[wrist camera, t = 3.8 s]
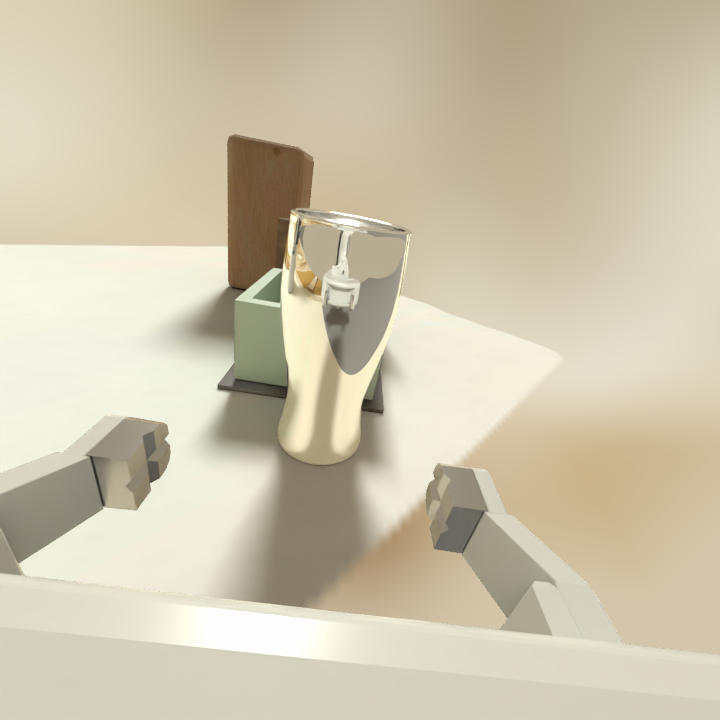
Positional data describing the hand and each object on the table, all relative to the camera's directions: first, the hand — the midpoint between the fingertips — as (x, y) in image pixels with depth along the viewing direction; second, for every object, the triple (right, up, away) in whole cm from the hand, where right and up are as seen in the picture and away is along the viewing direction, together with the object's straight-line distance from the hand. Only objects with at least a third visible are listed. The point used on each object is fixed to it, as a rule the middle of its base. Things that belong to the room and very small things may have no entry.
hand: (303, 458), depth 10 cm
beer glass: (-1, -3, +14) cm, 15 cm away
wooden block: (-14, +15, +45) cm, 49 cm away
